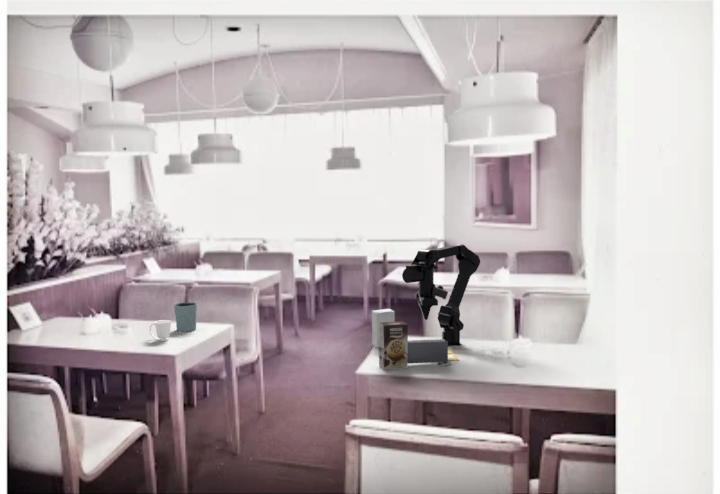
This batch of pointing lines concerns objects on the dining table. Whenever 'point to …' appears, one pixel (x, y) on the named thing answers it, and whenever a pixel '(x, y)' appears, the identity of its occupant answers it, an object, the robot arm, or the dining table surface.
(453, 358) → the left label plate
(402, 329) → the cookie box
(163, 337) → the cup
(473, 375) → the dining table surface
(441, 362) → the flange
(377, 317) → the skincare box
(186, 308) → the teal tapered pot
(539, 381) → the dining table surface
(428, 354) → the gray rectangular panel
